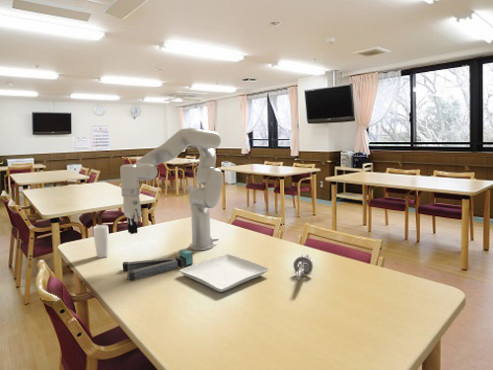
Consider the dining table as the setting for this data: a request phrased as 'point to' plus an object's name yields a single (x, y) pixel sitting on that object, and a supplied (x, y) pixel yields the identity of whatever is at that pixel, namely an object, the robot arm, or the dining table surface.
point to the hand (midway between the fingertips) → (132, 232)
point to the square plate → (224, 272)
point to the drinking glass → (101, 240)
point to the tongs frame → (156, 268)
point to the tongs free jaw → (143, 263)
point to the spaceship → (303, 266)
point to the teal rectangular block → (186, 256)
